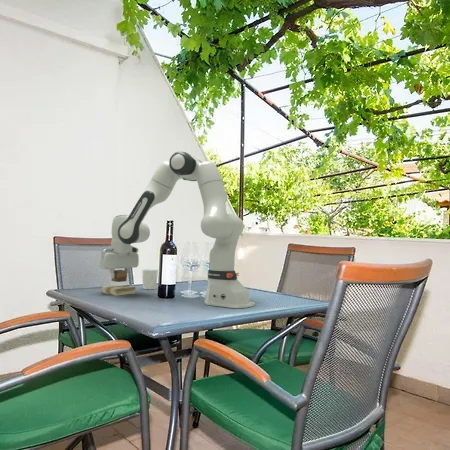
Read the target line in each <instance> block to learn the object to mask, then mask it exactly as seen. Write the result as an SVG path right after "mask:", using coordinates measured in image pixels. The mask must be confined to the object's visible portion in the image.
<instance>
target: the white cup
mask: <svg viewBox="0 0 450 450" xmlns="http://www.w3.org/2000/svg"><path fill="white" fill-rule="evenodd" d="M158 273H159V270H158V269H156V268H142V289H143V290H146V289H150V290H151V289H154V290H156V289H157V285H158Z"/></svg>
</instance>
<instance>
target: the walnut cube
mask: <svg viewBox="0 0 450 450" xmlns="http://www.w3.org/2000/svg"><path fill="white" fill-rule="evenodd" d="M114 274H116V278H111V279H110V280H111V282H114V283H115V282H116V283H122V282H127V278H128V273H127V271H125V270H123V269H117V270H116V269H115V271H114Z"/></svg>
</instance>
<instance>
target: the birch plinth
mask: <svg viewBox="0 0 450 450" xmlns="http://www.w3.org/2000/svg"><path fill="white" fill-rule="evenodd" d="M101 293H102V294H105V295H106V294H107V295H112V296H124V295H131V294H132V295H133V294H136V286H131V285H125V284H115V285H106V286H105V285H103V286H101Z"/></svg>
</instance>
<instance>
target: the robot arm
mask: <svg viewBox="0 0 450 450" xmlns="http://www.w3.org/2000/svg"><path fill="white" fill-rule="evenodd" d="M220 173H221V172H220V170H219V168H218V166H217V165H216V163H215V162H213V161H210V160H207V161H206V160H205V161H201V160H200V159H198V158H197V157H196V156H194V155H192V154H190V153H188V152H186V151H176V152H174V153H173V154H172V155H171V156H170V158H169V160H164V161H162V162H161V163H160V164H159V165H158V167H157V169H156V170H155V172H154V173H153V175H152V177H151V179H150V180H149V182H148V185H147V186H146V188H145V189H144V191H143V193H142V194H141V196H140V197H139V198H138V200H137V201H136V203H135V205H134V207H133V208H132V210H131V212H130V213H129V214H120V215H116V216H114V217H113V219H112V224H111V237H112V238H111V240H110V241H111V242H110V248H104V250H102V251H101V254H100V255H101V257H100V262H99V267H100V269H102V270H109V273H110V275H111V277H110V278H111V279H112V278H116V274H114V271H115V270H116V269H117V270H118V269H124V270H125V271H127V274H129V271H130V268H138V266H139V261H140V260H139V257H140V256H139V248H138V247H135V246H133V245H131V244H138V243H143V242H145V241H147V240H148V239H149V238H150V235H151V232H150V231H151V230H150V228H149V225H147V224H146V223H143V221H144V219H145V218H146V216H147V214H148V212H149V211H150V210H151V209H152V208H153V207H155V206H156V205H158V204H161V203H164V202H165V201H167V199H168V198H169V197H170V195H171V194H172V191H173V190H174V187H175V185H176V184H177V181H179V180H180V179H182V180H183V181H189V182H197V186H198V189H199V194H200V196H201V197H200V198H201V200H202V203H203V217H202V218H201V220H200V229H201V232H202V233H203V234H204V235H205V236H206V237H209V238H213V239H215V241H214V244H213V247H212V248H211V250H210V251H209V259H208V261H209V270H207V280H208V282H207V289H206V294H205V298H204V301H203V302H204V304H205V305H206V306H213V307H214V306H215V307H222V308H231V309H245V308H251V307H255V305H256V304H255V303H256V302H253V301H251V299H250V291H249V290H248V289H247V288H246V287H245V285H243V284H242V283H241V282H240V281H239V280H238V276H240V273H239V272H236V270H235V260H236V259H235V258H236V250H237V247H238V246H237V245H238V242H239V239H240V236H241V234H243V232H244V227H245V224H244V221H243V219H241V218H240V217H239V216H237V215H235V214H232V213H227V204H226V203H227V201H228V195H227V191H226V188H225V185H224V182H223V178H222V176H221V174H220Z"/></svg>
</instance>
